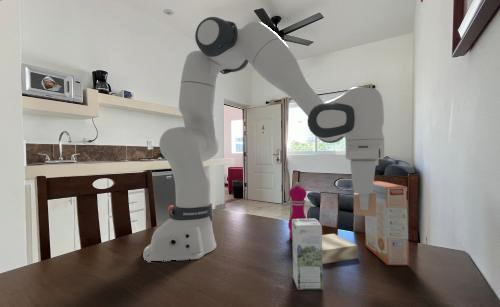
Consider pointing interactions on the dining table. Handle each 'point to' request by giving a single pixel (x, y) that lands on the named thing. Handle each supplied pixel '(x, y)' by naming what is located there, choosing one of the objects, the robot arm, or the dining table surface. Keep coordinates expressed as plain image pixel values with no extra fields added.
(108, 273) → the dining table surface
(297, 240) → the syrup box
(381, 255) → the cracker box
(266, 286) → the dining table surface
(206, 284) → the dining table surface
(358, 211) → the terracotta cube
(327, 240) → the birch block
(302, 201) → the pepper mill
